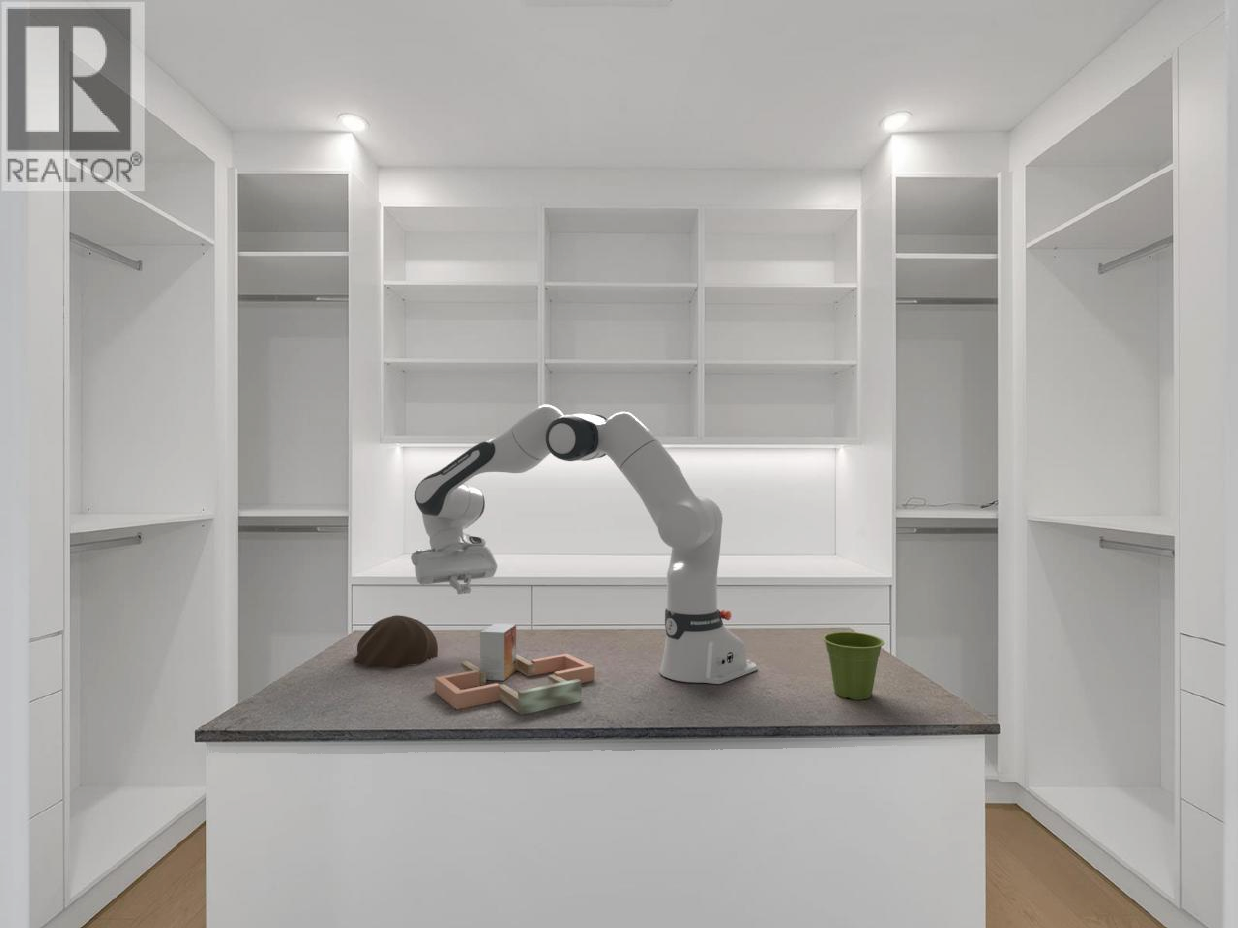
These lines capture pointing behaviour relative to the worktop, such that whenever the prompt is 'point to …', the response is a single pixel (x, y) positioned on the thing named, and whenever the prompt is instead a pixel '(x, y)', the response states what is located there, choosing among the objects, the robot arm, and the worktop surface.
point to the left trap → (465, 698)
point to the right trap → (565, 667)
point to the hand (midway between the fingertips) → (464, 592)
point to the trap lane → (533, 689)
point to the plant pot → (853, 662)
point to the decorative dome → (396, 643)
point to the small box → (498, 651)
